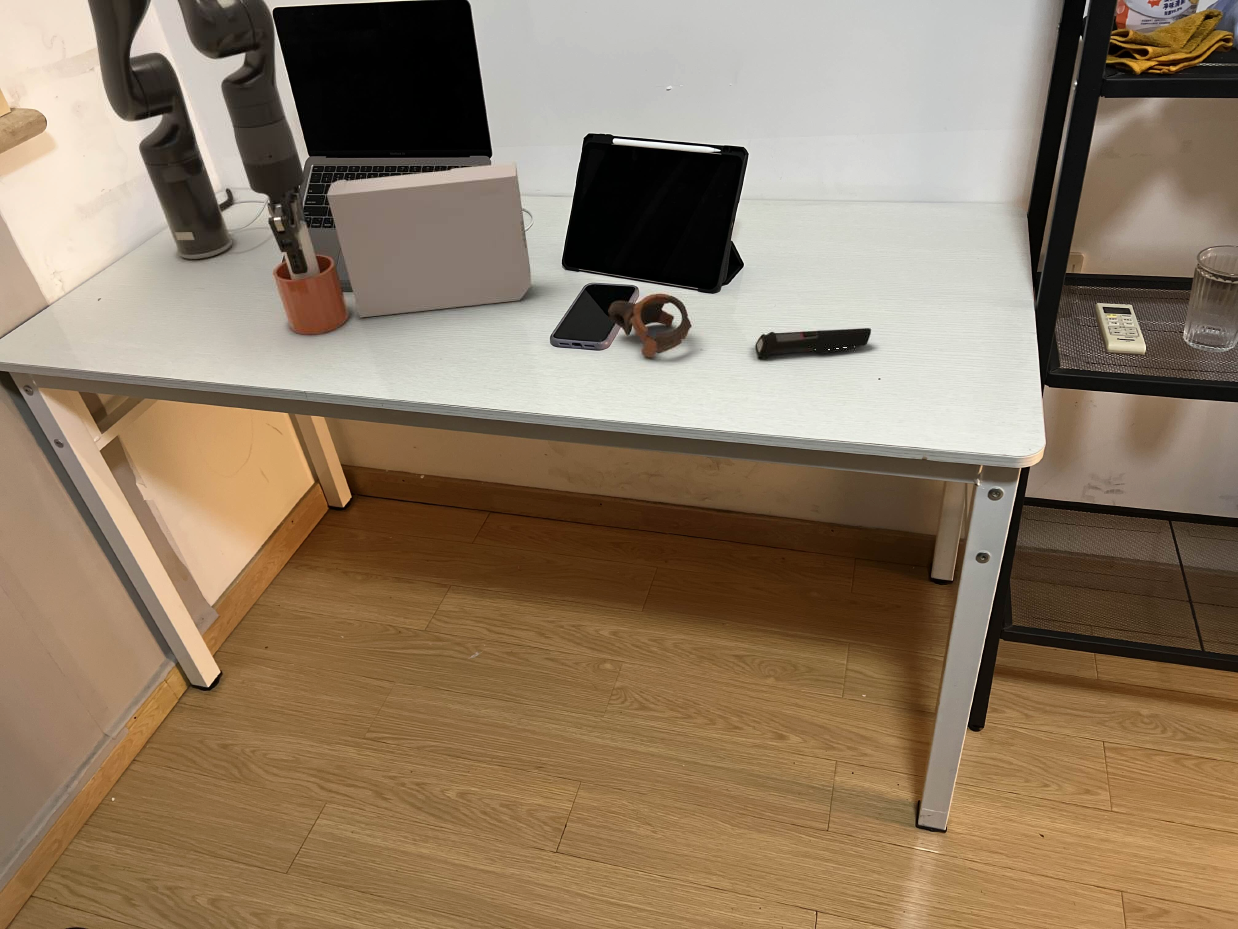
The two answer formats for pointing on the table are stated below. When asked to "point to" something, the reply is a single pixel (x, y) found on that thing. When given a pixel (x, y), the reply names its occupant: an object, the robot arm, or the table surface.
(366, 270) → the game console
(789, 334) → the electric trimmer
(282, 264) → the pen cup
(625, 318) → the brown ring bracket
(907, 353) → the table surface
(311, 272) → the tube
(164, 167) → the robot arm
